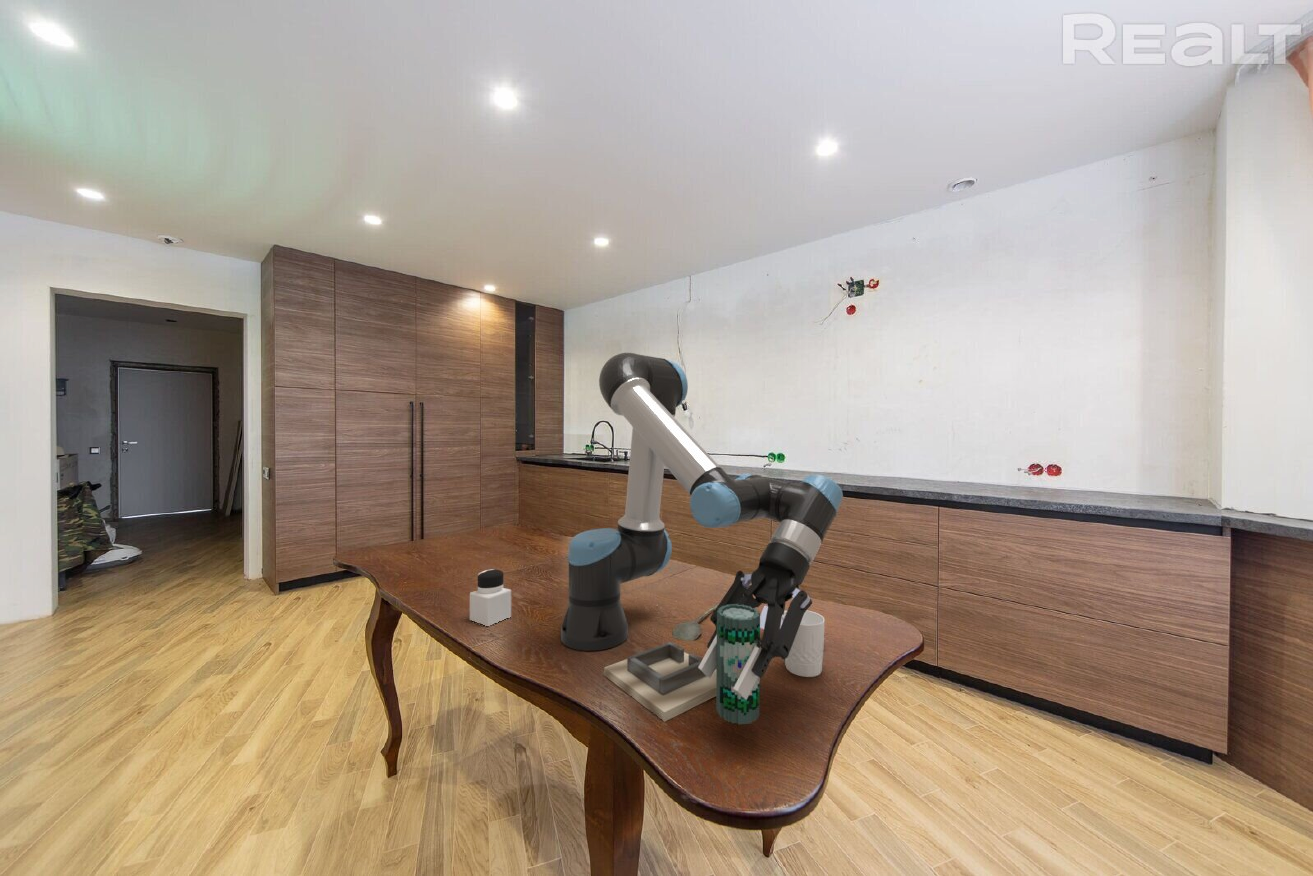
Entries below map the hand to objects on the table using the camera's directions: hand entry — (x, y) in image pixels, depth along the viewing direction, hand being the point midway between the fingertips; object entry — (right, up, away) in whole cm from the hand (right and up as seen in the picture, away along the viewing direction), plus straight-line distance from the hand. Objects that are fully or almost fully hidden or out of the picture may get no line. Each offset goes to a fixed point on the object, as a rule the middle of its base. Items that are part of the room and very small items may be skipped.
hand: (721, 682), depth 65 cm
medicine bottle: (-51, -10, +46) cm, 69 cm away
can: (+3, -6, +2) cm, 7 cm away
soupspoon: (+1, -10, +44) cm, 45 cm away
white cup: (+19, -9, +21) cm, 30 cm away
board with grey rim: (-8, -9, +17) cm, 21 cm away
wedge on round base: (+20, -9, +33) cm, 40 cm away
